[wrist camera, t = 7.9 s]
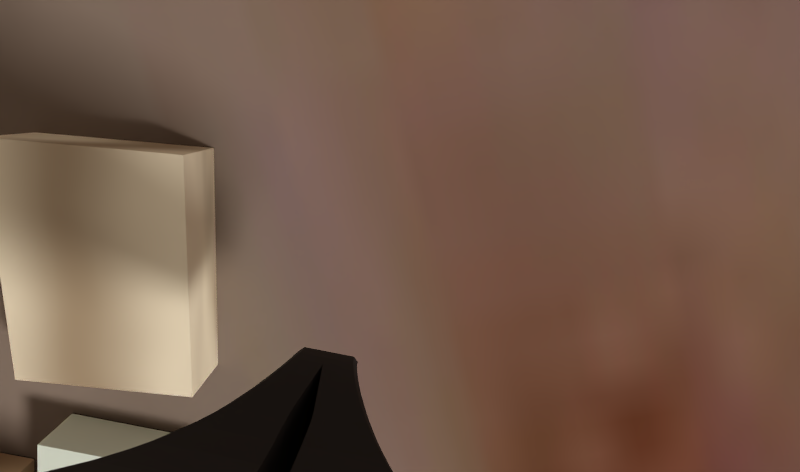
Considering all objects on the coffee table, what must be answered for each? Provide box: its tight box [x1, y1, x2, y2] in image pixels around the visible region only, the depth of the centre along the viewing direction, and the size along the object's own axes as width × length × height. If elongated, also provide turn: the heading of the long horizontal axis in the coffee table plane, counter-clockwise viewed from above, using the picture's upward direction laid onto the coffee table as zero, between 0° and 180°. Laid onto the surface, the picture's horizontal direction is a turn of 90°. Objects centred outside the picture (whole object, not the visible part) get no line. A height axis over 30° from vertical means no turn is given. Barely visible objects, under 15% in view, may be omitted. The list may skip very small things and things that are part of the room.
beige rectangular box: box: [0, 132, 218, 397], centre depth 17 cm, size 6×8×2 cm
